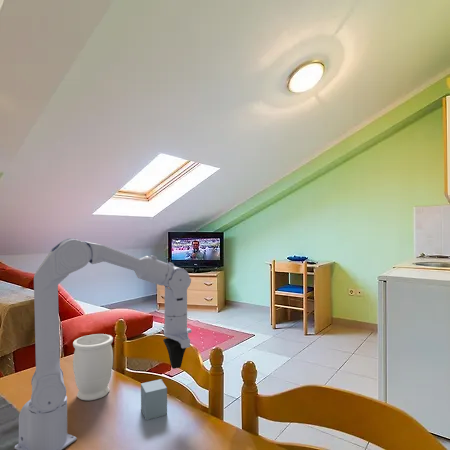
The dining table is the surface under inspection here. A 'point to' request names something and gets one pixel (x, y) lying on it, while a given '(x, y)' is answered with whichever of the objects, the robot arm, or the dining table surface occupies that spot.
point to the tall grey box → (153, 399)
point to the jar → (93, 365)
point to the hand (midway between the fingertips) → (176, 367)
